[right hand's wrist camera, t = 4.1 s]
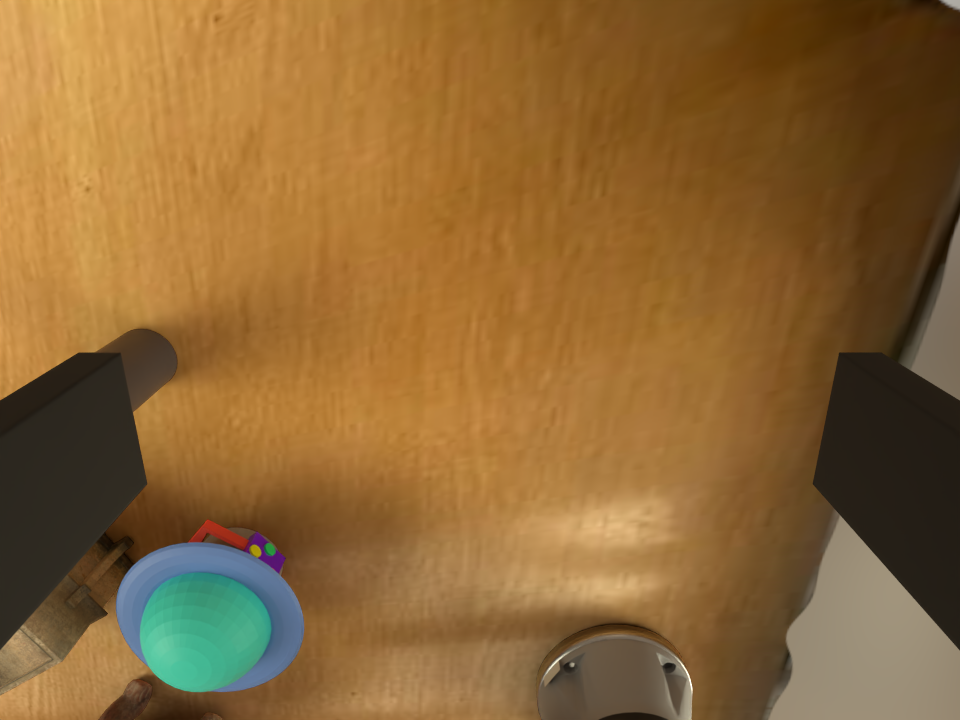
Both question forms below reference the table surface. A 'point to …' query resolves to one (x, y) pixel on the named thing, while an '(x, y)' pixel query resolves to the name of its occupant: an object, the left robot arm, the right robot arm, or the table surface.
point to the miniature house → (65, 613)
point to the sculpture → (136, 703)
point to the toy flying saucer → (212, 611)
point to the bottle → (144, 362)
